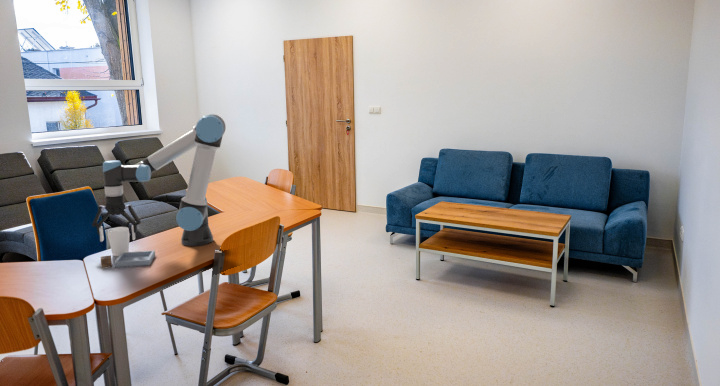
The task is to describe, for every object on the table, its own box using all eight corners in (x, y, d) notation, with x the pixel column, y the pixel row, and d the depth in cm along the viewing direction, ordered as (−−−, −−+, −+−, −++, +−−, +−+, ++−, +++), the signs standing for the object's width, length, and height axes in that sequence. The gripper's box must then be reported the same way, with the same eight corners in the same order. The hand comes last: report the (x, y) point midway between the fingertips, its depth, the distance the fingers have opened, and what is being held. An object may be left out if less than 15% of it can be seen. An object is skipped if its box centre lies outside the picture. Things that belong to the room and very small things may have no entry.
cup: (118, 250, 236) (116, 226, 234) (135, 251, 234) (133, 227, 232) (105, 256, 228) (102, 231, 225) (122, 257, 226) (120, 232, 223)
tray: (155, 255, 229) (154, 250, 228) (149, 265, 215) (148, 260, 215) (122, 257, 226) (121, 252, 225) (114, 268, 212) (113, 262, 212)
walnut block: (111, 264, 218) (110, 255, 217) (112, 266, 214) (111, 257, 214) (101, 265, 216) (100, 256, 215) (101, 268, 213) (100, 259, 212)
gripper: (145, 192, 232) (148, 236, 236) (86, 194, 226) (91, 239, 230) (142, 195, 225) (145, 240, 229) (81, 197, 219) (86, 243, 223)
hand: (118, 240), depth 230 cm, fingers open, 13 cm apart
